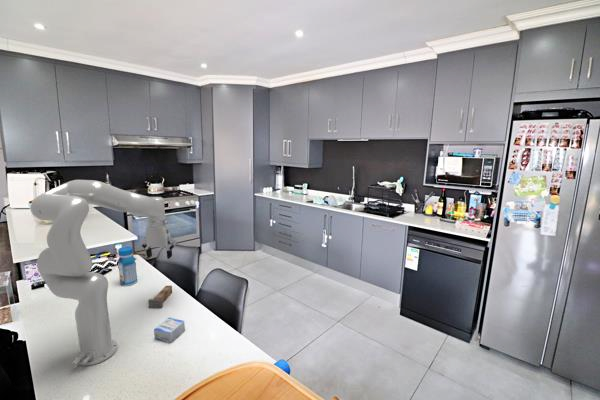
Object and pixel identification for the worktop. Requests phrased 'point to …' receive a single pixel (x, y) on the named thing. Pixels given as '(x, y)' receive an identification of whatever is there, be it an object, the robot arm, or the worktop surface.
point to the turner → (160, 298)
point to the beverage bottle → (127, 266)
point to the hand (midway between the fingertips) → (159, 257)
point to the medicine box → (169, 329)
